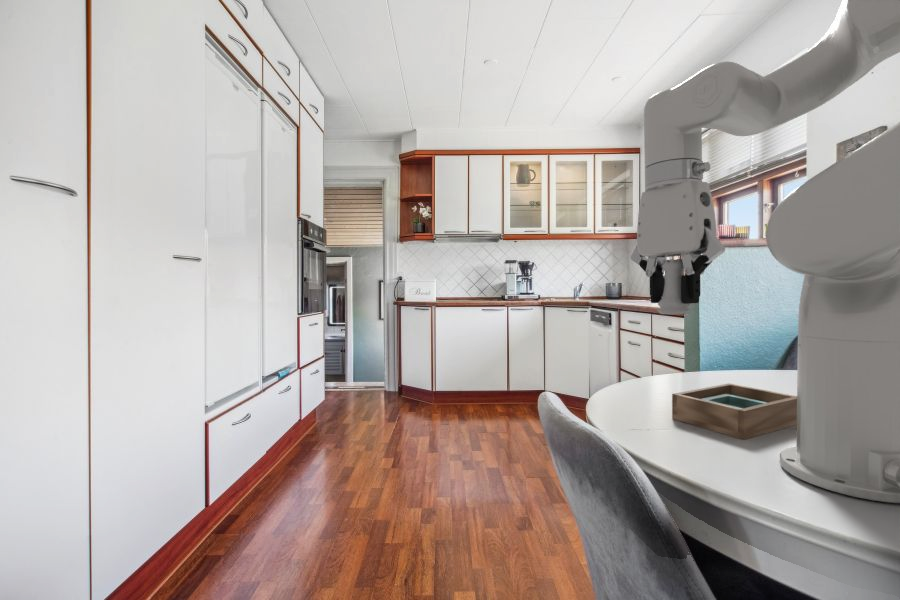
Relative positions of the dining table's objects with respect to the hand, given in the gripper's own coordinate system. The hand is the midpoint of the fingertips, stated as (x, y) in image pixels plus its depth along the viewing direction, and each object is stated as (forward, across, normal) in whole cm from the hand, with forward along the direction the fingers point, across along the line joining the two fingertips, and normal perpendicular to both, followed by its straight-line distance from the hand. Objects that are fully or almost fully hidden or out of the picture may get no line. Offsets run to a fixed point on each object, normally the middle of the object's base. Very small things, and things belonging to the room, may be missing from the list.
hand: (674, 301), depth 65 cm
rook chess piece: (+2, 0, 0) cm, 2 cm away
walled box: (+19, -2, -12) cm, 22 cm away
